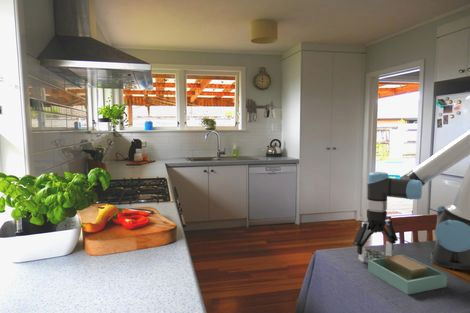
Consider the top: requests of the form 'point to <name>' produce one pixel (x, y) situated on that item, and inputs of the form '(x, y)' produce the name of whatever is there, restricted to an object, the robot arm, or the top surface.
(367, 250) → the egg carton
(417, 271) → the tan cardboard block
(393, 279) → the tote
